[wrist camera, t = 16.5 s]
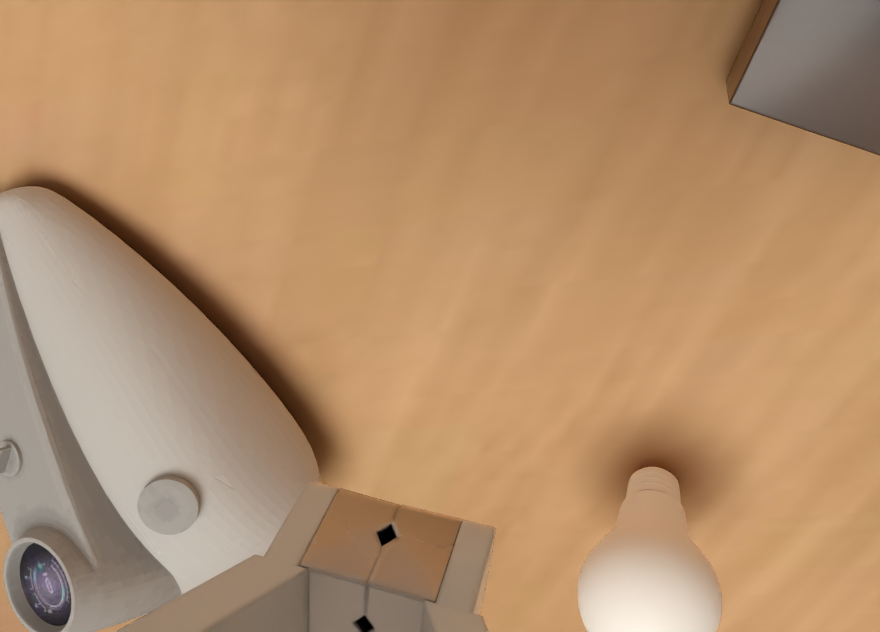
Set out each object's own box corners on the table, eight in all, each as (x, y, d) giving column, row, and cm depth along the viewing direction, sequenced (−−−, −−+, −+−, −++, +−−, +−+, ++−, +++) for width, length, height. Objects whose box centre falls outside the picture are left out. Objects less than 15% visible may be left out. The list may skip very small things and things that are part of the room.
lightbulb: (734, 448, 41) (747, 633, 32) (694, 533, 44) (695, 721, 35) (611, 414, 41) (590, 584, 32) (581, 499, 45) (554, 675, 36)
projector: (362, 254, 40) (223, 445, 28) (331, 564, 53) (225, 789, 41) (-39, 153, 43) (-321, 286, 31) (22, 469, 56) (-163, 653, 44)
